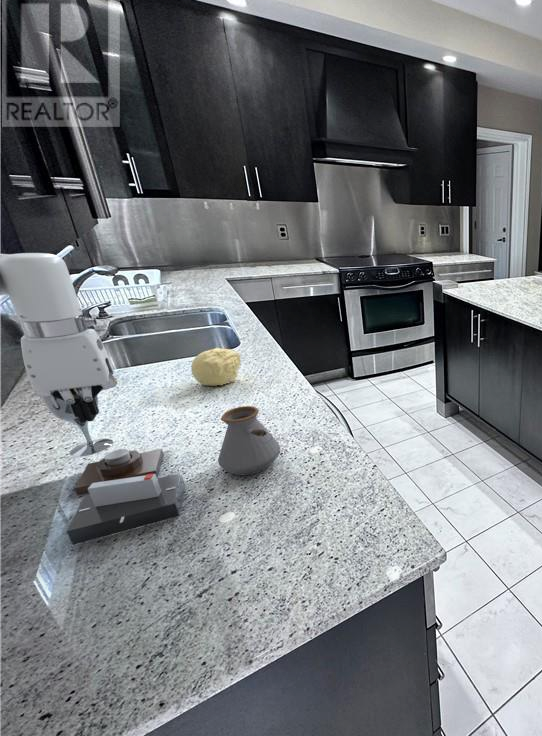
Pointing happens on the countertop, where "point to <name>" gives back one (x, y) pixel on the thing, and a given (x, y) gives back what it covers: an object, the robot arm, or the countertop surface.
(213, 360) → the pale yellow lumpy ball
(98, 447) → the wine glass
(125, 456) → the button
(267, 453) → the coffee pot
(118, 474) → the switch block
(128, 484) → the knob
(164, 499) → the dark grey flat block
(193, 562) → the countertop surface
